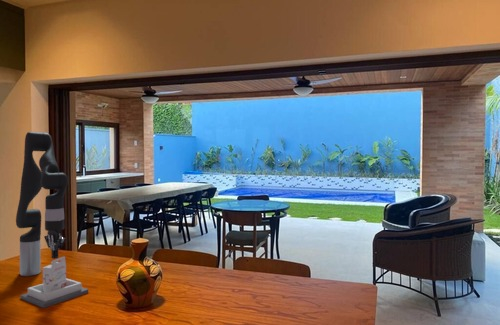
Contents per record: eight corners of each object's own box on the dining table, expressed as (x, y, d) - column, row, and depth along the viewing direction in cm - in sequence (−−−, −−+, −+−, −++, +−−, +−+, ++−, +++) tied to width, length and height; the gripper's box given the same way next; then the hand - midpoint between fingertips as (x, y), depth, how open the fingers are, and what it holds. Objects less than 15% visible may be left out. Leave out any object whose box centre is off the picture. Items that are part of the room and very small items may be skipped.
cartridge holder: (20, 298, 160) (20, 288, 160) (65, 284, 177) (65, 275, 176) (43, 308, 150) (43, 297, 150) (88, 292, 167) (88, 282, 167)
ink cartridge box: (57, 287, 168) (57, 255, 168) (66, 288, 167) (66, 255, 167) (42, 294, 160) (42, 260, 160) (52, 295, 159) (52, 261, 158)
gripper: (37, 218, 163) (38, 257, 163) (54, 221, 156) (55, 262, 156) (54, 216, 169) (54, 254, 170) (71, 218, 162) (71, 258, 163)
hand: (54, 258), depth 163 cm, fingers closed
